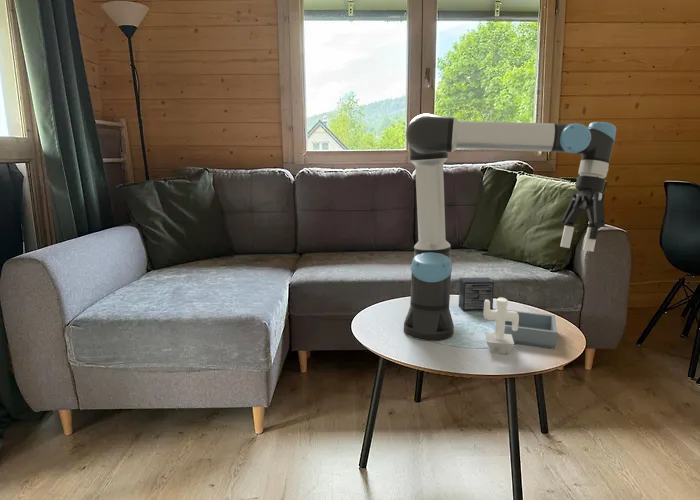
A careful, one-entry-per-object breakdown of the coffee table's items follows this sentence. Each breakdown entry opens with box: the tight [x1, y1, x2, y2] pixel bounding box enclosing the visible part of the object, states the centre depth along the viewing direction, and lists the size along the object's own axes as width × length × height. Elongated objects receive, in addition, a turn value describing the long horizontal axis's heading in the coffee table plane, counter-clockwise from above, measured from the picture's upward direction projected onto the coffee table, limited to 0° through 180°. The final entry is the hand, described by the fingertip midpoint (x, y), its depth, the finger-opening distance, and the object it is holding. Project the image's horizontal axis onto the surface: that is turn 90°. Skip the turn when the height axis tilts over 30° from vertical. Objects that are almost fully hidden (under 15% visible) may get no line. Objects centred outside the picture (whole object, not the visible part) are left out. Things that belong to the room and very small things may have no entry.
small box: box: [458, 276, 495, 312], centre depth 174 cm, size 11×6×10 cm, turn 94°
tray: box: [504, 309, 558, 350], centre depth 150 cm, size 16×15×5 cm
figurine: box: [482, 297, 519, 355], centre depth 138 cm, size 7×9×15 cm
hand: (575, 249), depth 147 cm, fingers open, 13 cm apart
